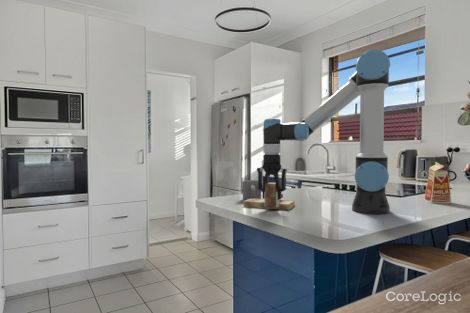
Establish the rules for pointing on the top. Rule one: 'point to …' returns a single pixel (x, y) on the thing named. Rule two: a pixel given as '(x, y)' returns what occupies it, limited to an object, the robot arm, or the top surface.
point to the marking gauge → (270, 195)
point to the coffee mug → (251, 189)
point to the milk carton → (438, 185)
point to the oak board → (260, 204)
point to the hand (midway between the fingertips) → (271, 206)
